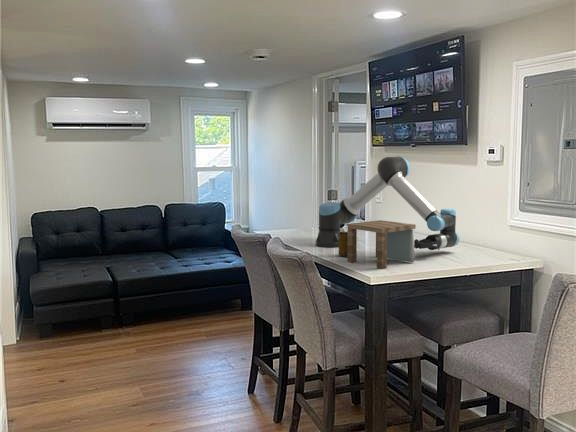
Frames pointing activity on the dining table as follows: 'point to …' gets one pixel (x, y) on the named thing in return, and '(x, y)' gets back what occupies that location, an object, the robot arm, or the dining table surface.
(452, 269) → the dining table surface
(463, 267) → the dining table surface
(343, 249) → the condiment
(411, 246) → the pale teal panel
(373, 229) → the step stool
